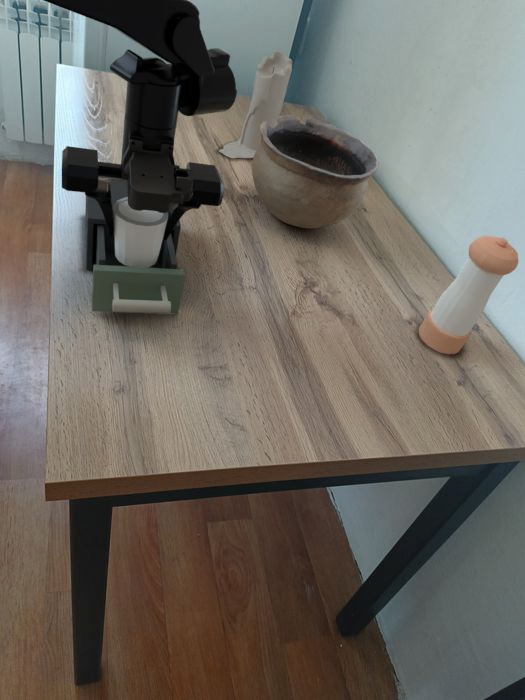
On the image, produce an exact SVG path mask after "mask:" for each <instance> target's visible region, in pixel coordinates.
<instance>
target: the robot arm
mask: <svg viewBox="0 0 525 700" xmlns="http://www.w3.org/2000/svg"><path fill="white" fill-rule="evenodd" d="M43 1H44V2H46V3H49V4H51V5H54V6H57V7H59V8H61V9H65V10H67V11H70V12H72V13H75V14H77V15H81V16H83V17H86V18H88V19H90V20H92V21H93V20H94V21H95V22H98V23H101V24H104V25H107V26H109V27H111V28H112V29H114V30H115V31H117V32H119V33H120V34H122V35H123V36H124V37H126V38H128V39H129V40H130V41H132V42H134V43H135V44H137V45H138V46H140V47H142V48H144V49H146V50H147V51H149V52H150V53H152V54H154V55H155V57H153V56H152V57H151V56H150V57H142V56H141V55H140V54H137V53H136V52H134V51H132V50H131V49H126V50H125V52H124V54H123V55H121V56H120V57H118V58H116V59H114V61H113V62H112V63H110V65H109V70H110V71H111V73H113V74H115V75H116V76H118V77H119V78H121V79H123V80H124V81H125V82H126V94H125V107H124V118H123V119H124V120H123V133H122V146H121V157H120V158H121V160H120V163H113V162H105V161H99V154H98V153H99V152H98V149H93V148H92V149H91V148H84V147H77V146H70V145H67V146H66V147H65V148H64V149H63V150H62V151H61V189H63V190H65V191H68V192H76V193H84V195H85V197H86V196H87V197H88V198H93V199H95V200H96V201H97V202H98V204H99V206H100V208H101V210H102V212H103V215H104V218H105V221H106V224H107V228H108V231H109V234H110V236H113V235H114V220H113V209H112V198H111V187H110V180H112V181H120V182H127V190H128V205H129V206H130V208H132V209H134V210H137V211H142V210H149V211H158V212H159V213H167V212H168V220H167V224H166V228H165V232H164V236H163V240H167V238H168V237H169V235H170V234H171V232H172V230H173V229H174V227H175V226H176V224H177V222H178V221H179V220H180V219H181V218H182V217H183V216H184V215H185V213H186V212H188V211H190V210H199V209H200V208H201V207H202V206H211V207H219V206H222V203H223V199H224V196H225V195H224V194H225V185H224V183H223V179H222V177H221V174H220V172H219V170H218V168H217V167H216V165H215V164H206V163H199V162H192V161H188V162H187V164H186V167H185V168H182V167H181V166H180V165H177V164H176V163H175V157H174V150H175V148H174V147H175V139H176V133H177V132H176V130H177V125H178V117H179V113H180V114H181V115H183V116H185V117H193V116H194V117H195V116H202V115H208V114H209V115H210V114H214V113H215V114H216V113H223V112H227V111H228V110H230V109H231V108H232V107H233V105H234V104H235V102H236V99H237V93H238V90H237V85H236V84H237V82H236V78H235V74H234V72H233V70H232V69H231V67H230V60H231V54H229V53H228V52H226V51H224V50H222V49H221V48H218V47H216V48H215V47H214V48H209V49H208V48H207V45H206V44H207V43H206V42H205V39H204V36H203V33H202V30H201V20H200V10H199V8H198V7H197V6H196V5H195V4H194V3H193V2H191V1H190V0H42V2H43ZM156 56H157V57H156ZM166 62H167V63H166ZM180 167H181V168H180Z"/></svg>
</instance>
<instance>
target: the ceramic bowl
mask: <svg viewBox="0 0 525 700" xmlns="http://www.w3.org/2000/svg"><path fill="white" fill-rule="evenodd" d="M260 132H261V142H260V143H259V145H258V147H257V150H256V152H255V155H254V158H252V164H251V165H252V166H251V175H252V179H253V183H254V188H255V190H256V192H257V194H258V197H259V199H260V200H261V202H262V204H263V205H264V206H265V208H266V209H267V210H268V211H269V212H270V213H271V214H272V215H273V216H274V217H275V218H276V219H278V220H280V221H281V222H283V223H285V224H288V225H290V226H294V227H297V228H301V229H321V228H325V227H328V226H331V225H335V224H339V223H340V222H342V221H344V220H345V219H347V218H348V217H349V216H351V215H352V214H353V213H355V212H356V211H357V209H358V208H359V207H360V205H361V203H362V201H363V200H364V197H365V195H366V192H367V189H368V185H369V179H370V178H371V177H372V176H373V175H374V174H376V172H377V171H378V170H379V167H380V160H379V158H378V156H377V153H376V152H375V151H373V150H372V148H370V147H368V145H367V144H366V143H365V142H364V141H363V140H362V139H360V138H359V137H357V136H355V135H353V134H351V133H350V132H348V131H346V130H344V129H341V128H338V127H337V126H335V125H334V124H331V123H328V122H324V121H322V120H319V119H316V118H312V117H306V118H305V119H304V122H303V121H302V120H301V119H300V118H299V117H298V116H296V115H294V114H293V115H292V114H287V115H281V114H280V115H279V116H278V119H277V123H276V124H275V126H274V127H271V126H270V124H269V123H268V121H263V123H262V124H261V126H260Z"/></svg>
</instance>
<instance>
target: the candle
mask: <svg viewBox="0 0 525 700" xmlns="http://www.w3.org/2000/svg"><path fill="white" fill-rule="evenodd" d="M272 52H273V53H272V54H271V56H268V55H265V56H264V57H263V58H262V61H260V62H259V63H258V64H257V67H256V74H255V78H254V83H253V90H252V97H251V101H250V104H249V108H248V111H247V114H246V117H245V120H244V123H243V125H242V130H241V134H240V138H239V139H238V140H236V141H232V142H229V143H228V142H227V143H226V144H223V148H220V149H219V150H218V152H219V153H221V154H222V155H224V156H226V157H227V158H230V159H239V158H240V159H253V158H254V155H255V152H256V150H257V147H258V145H259V143H260V142H261V132H260V126H261V124H262V123H263V121H268V123H269V124H270V126H271V127H274V126H275V124H276V123H277V119H278V116H279V115H280V116H281V113H282V109H283V105H284V102H285V98H286V94H287V91H288V87H289V83H290V79H291V76H292V72H293V60H292V59H291V58H290V57H288V56H287V55H286V54H285V53H283V52H281V51H280V50H278V49H274V50H273V51H272Z"/></svg>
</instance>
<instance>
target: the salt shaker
mask: <svg viewBox="0 0 525 700" xmlns="http://www.w3.org/2000/svg"><path fill="white" fill-rule="evenodd" d="M518 265H519V253H518V251H517V250H516V249H515V247H513V246H512V245H511V244H510V243H509V242H508V240H507V239H506V238H505V237H503V236H502V237H496V236H493V235H492V236H491V235H481V236H479V237H477V238H475V239H474V240H473V241H472V242H470V244H469V246H468V258H467V260H466V261H465V263H464V265H463V266H462V268H461V269H460V271H459V273H458V274H457V276H456V278H455V279H454V280H453V281H452V282H451V284H449V286H448V287H447V288H446V289H445V291H443V292H442V294H441V295H440V297H439V298H438V300H437V302H436V304H435V305H434V307H433V308H432V309H430V310H429V311H428V312H427V314H426V315H425V317H424V319H423V320H422V322H421V324H420V326H419V328H418V335H419V337H420V339H421V340H422V342H423V343H424V344H425V345H426V346H428V347H429V348H430V349H432V350H434V351H436V352H438V353H440V354H445V355H455V354H458V353H460V351H461V349H462V348H463V346H464V344H465V343H466V342H467V341H468V340H469V338H470V337H471V335H472V329H473V328H474V327H475V325H476V324H477V322H478V321H479V320H480V318H482V315H483V313H484V311H485V308H486V306H487V304H488V301H489V300H490V297H491V295H492V294H493V292H494V291H495V289H496V288H497V286H498V285H499V283H500V282H501V280H502V279H503V277H504V276H506V275H509V274H511V273H512V272H514V271H515V270H516V268H517V267H518Z"/></svg>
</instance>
